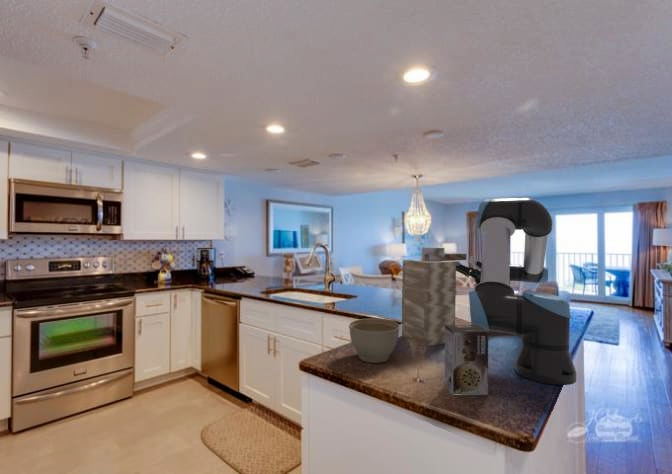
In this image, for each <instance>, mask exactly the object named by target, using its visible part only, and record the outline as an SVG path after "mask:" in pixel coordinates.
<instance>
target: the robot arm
mask: <svg viewBox="0 0 672 474" xmlns="http://www.w3.org/2000/svg"><path fill="white" fill-rule="evenodd" d="M476 228H477V229H478V230H480V232H481V234H482V235H483V236H484V238H483V247H482V248H483V249H482V260H481V261H480V260H479V259H477V258H476V257H475V256H474V255H471V256H470V257H469V259H468V263H469V264H471V266H473V267H475V268H473V267H471V266H469V267H467V266H466V265H463V264H461V263H460V266H456V272H458V273H459V274H462V275H463V276H465V277H466V278H469V277H471V278H473V280H474V282H475V284H476V285H475V287H474V290H471V291H469V292H468V294H469V295H468V300H469V301H468V302H469V312H470V322H471V325H479V326H480V327H482V328H484V330H486V331H488V332H490V333H491V332H492V333H498V334H499V333H501V334H506V335H507V334H508V335H516V336H521V337H522V338H521V339H522V340H521V342H522V343H521V345H520V349H519V351H518V353H517V356H516V358H515V361H514V362H515V363H514V364H515V365H514V369H515V372H516V373H517V374H518V375H520V376H522V377H524V378H526V379H528V380H532V381H535V382H538V383H541V384H546V383H547V385H555V386H570V385H573V384H575V383H576V382H577V371H576V368H575V364H574V362H573V358H572V356H571V353H570V327H571V326H570V322H571V321H570V318H572V315H571V309H570V308H571V307H570V303H569V301H568V300H567V299H565V298H564V297H562V296H558V295H554V294H550V293H547V292H542V291H536V290H523V292H522V293H521V294H522V295H521V294H519V295H518V294H516V293H515V289H514V288H513V286H511V282H522V283H533V284H535V283H536V284H545V283H548V281H549V268H548V266H547V265H545V260H546V251H547V245H548V235H550V234H551V232H552V230H553V219H552V216H551V214H550V212H549V210H548V209H547V208H546V207H545V206H544V205H543V204H541V203H540V202H539V201H537V200H536V199H533V198H529V197H520V198H517V197H516V198H515V197H514V198H490V199H489V198H488V199H483V200H481V202H480V203H479V205H478V209H477V216H476ZM517 230H519V231H520V230H522V231H523V233H524V235H525V236H524V251H523V254H524V255H523V264H514V263H512V264H511V237H512V236H513V235H514V233H515V232H516V231H517ZM449 261H456V260H449Z"/></svg>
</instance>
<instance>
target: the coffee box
mask: <svg viewBox="0 0 672 474" xmlns="http://www.w3.org/2000/svg"><path fill="white" fill-rule="evenodd" d="M445 385H446V386H445ZM444 386H445V388H446V389H447V388H448V389H449V390H450V391H451V392H450V391H449V390H448V389H447V390H448V391H449V392H450V394H451V393H452V394H469V395H468V396H488V395H489V331H486V330H484V328H482V327H480V326H479V325H472V324H455V325H445V343H444ZM452 394H451V395H452Z"/></svg>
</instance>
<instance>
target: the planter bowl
mask: <svg viewBox="0 0 672 474" xmlns="http://www.w3.org/2000/svg"><path fill="white" fill-rule="evenodd" d="M400 326H401V325H400V324H399V323H398V322H396V321H392V320H388V319H380V318H362V319H361V318H360V319H356V320H353V321H351V322H349V323H348V328H349V336H350V341H351V344H352V346H353V348H354V350H355V351H356V352H357V354H358V358H359V359H360V360H361V361H363V362H366V363H373V364H378V363H384V362H385V363H386V362H388V360H390V355H391V354H392V353H393V351H394V350H395V347H396V346H397V343H398V339H399V331H400Z"/></svg>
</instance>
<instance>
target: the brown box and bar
mask: <svg viewBox="0 0 672 474" xmlns="http://www.w3.org/2000/svg"><path fill="white" fill-rule="evenodd" d="M467 255H468V254H467V253H445V247H425V246H424V247H421V259H422V260H424V261H447V260H455V261H466V260H467Z"/></svg>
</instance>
